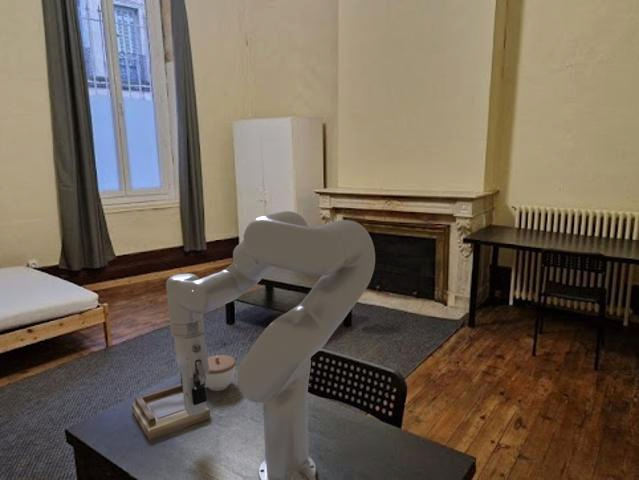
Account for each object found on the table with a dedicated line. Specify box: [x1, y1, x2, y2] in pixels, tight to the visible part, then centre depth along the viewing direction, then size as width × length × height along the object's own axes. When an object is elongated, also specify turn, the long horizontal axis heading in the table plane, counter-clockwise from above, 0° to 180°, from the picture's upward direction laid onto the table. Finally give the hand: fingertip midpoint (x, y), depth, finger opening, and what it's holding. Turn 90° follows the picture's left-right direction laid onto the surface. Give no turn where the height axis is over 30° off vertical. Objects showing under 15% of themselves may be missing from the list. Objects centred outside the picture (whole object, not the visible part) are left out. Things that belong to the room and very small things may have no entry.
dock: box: [131, 382, 211, 441], centre depth 124 cm, size 16×16×4 cm
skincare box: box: [181, 370, 207, 416], centre depth 110 cm, size 6×4×12 cm
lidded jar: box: [205, 354, 236, 392], centre depth 139 cm, size 11×11×9 cm
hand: (194, 396), depth 110 cm, fingers closed on skincare box, 6 cm apart
